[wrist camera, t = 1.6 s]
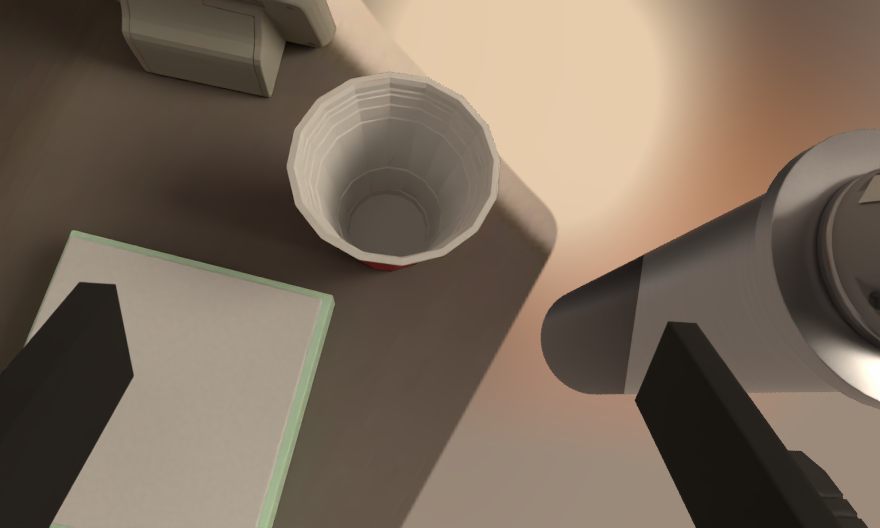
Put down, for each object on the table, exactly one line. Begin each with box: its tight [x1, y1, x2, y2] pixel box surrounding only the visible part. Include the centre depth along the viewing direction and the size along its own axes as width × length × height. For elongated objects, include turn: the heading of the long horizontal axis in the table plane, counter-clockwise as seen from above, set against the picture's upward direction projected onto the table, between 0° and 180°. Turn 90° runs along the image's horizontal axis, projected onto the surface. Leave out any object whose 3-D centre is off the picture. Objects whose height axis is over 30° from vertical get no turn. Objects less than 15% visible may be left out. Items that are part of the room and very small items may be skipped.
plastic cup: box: [287, 72, 500, 271], centre depth 35 cm, size 11×11×12 cm
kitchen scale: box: [23, 230, 335, 528], centre depth 34 cm, size 16×16×4 cm
